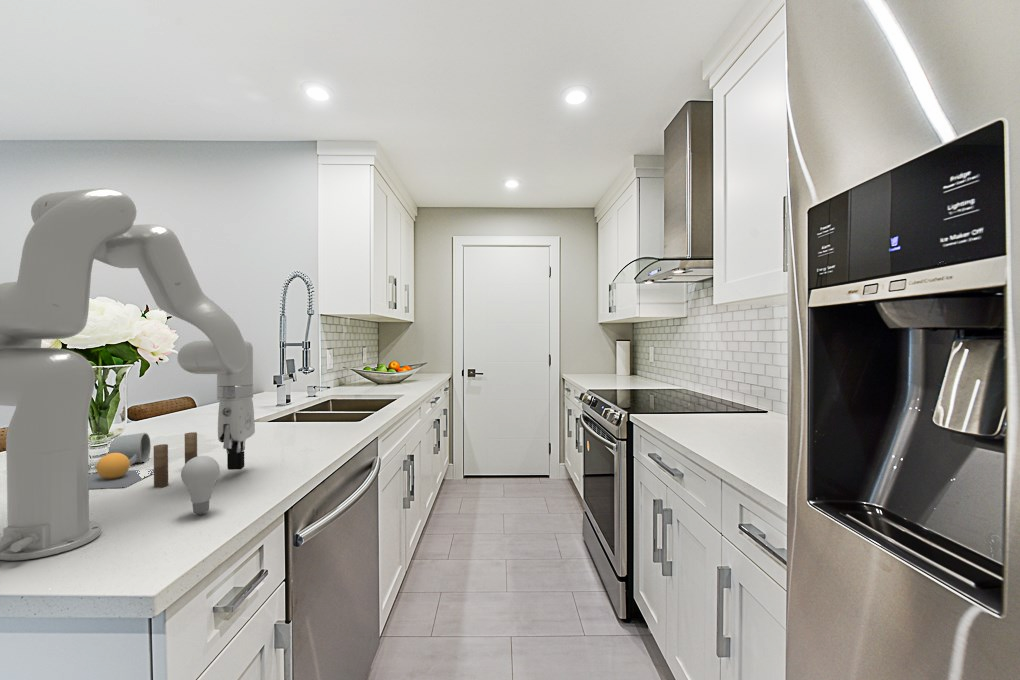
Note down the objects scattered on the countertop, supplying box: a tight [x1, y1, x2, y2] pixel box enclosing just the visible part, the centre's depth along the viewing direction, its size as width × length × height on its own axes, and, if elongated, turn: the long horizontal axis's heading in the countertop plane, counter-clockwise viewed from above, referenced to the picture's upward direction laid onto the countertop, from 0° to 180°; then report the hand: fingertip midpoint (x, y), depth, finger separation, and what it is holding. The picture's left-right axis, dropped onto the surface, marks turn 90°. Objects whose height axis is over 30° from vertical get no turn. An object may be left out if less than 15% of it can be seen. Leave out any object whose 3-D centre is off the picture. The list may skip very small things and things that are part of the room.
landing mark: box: [89, 468, 154, 490], centre depth 111 cm, size 14×14×1 cm
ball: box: [96, 453, 130, 479], centre depth 112 cm, size 6×6×6 cm
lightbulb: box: [180, 455, 221, 516], centre depth 90 cm, size 6×6×11 cm
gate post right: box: [184, 431, 198, 465], centre depth 120 cm, size 3×3×9 cm
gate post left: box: [153, 443, 169, 488], centre depth 107 cm, size 3×3×9 cm
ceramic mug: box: [109, 432, 152, 467], centre depth 124 cm, size 11×8×8 cm
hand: (236, 468), depth 115 cm, fingers closed
